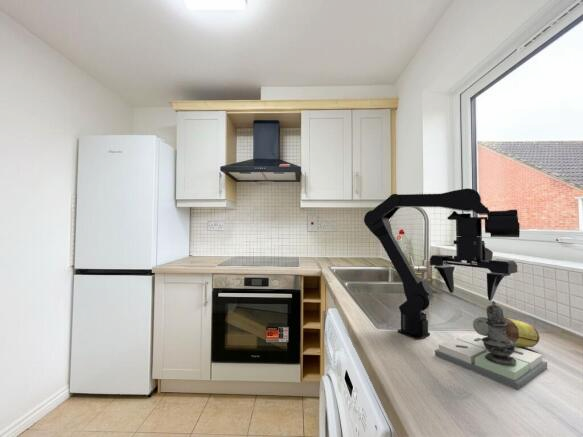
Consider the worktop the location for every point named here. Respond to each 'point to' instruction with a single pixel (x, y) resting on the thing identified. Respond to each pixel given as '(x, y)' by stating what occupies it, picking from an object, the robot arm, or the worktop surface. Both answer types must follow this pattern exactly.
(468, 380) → the worktop surface
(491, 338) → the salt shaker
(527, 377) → the keypad board
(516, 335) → the sauce bottle
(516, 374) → the green key
